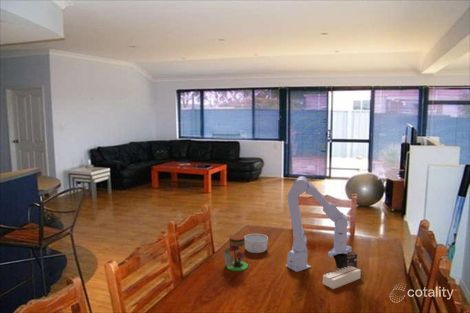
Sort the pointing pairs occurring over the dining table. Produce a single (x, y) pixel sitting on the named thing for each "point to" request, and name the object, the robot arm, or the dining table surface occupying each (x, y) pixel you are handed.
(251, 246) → the ramekin
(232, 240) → the plant terrarium
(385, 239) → the dining table surface
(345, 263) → the box
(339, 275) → the striped peg rail
